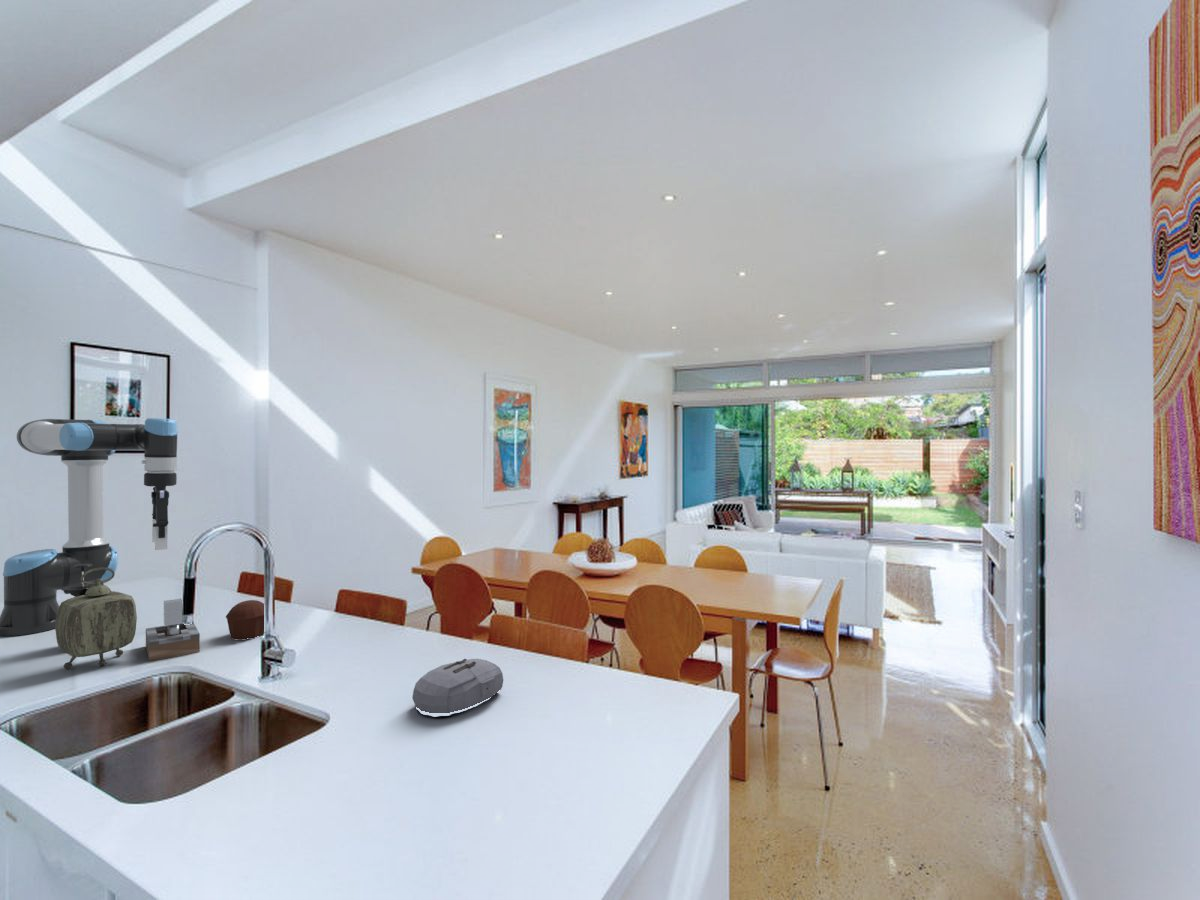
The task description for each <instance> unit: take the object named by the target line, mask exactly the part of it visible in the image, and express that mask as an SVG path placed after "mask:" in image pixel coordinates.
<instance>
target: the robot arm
mask: <svg viewBox="0 0 1200 900" xmlns="http://www.w3.org/2000/svg"><path fill="white" fill-rule="evenodd" d="M178 433H179V431H178V422H177V420H175V419H174V418H156V417H151V418H150V417H149V418H146V419H145V420H144V424H143V423H135V424H133V423H131V424H130V423H126V424H125V423H108V422H106V421H103V420H94V419H69V418H68V419H65V418H63V419H62V418H61V419H59V418H57V419H56V418H44V419H43V418H42V419H36V420H31V421H29V422H27V423H25V424H23V425H21V426H20V428H18V431H17V432H16V441H17V443H18V445H19V446H20V447H21V448H22V449H24V450H25V451H27V452H29V453H32V454H35V455H40V456H41V455H42V456H53V457H54V456H55V457H57V456H61V457H60V462H61V463H63V464H64V465H65V466H66V467H67V508H68V509H67V512H68V513H67V514H68V515H67V517H68V518H67V519H68V520H67V521H68V540H67V542H65V543H64V544H63V545H62V547H61V550H62V552H58V551H57V550H56V549H53V548H47V549H46V548H45V549H38V550H32V551H27V552H23V553H19V554H18V553H17V554H15V555H13V556H11V557H9V558H7V559H6V560H5V562H4V563H3V564H4V565H3V573H2V576H3V609H2V611H1V613H0V637H12V636H13V637H14V636H24V635H25V636H26V635H30V634H32V635H33V634H37V633H43V632H45V631H46V632H47V631H50V630H53V629H55V627H56V616H57V611H58V608H59V606H60V604H59V603H58V601H57V591H60V590H61V588H63V587H66V586H70V585H75V584H81V583H82V581H81V577H82V572H81V568H74V567H73V566H75V565H79V564H92V566H88V567H85V571H84V573H85V572H86V571H88V570H90V569H94V568H100V567H106V568H110V569H112V570H113V571H114V573H115V574H116V572H117V569H118V568H117V567H118V565H119V564H118V563H119V555H118V554H117V553H118V551H117V549H116V548H115V547H114V546H111V545H110V541H108V540H107V539H106V538H104V497H103V496H104V495H103V491H104V489H103V487H104V486H103V483H104V482H103V466H104V465H105V464H106V463H107V462H108V461H109V457H110V456H111V455H112V456H113V455H114V454H115V452H116V451H144V454H143V455H144V456H143V457H144V460H141V464H144V468H143V469H144V471H145V473H144V474H143V485H144V486H145V487H153V488H152V490H153V491H151V493H150V496H151V504H152V513H151V516H152V524H151V525H152V529H151V530H152V531H151V532H152V533H151V534H152V535H151V536H152V537H151V538H152V539H151V541H152V543H154V550H155V551H159V550H160V551H161V550H168V529H169V528H168V525H169V517H168V516H169V515H168V514H169V513H168V509H169V508H168V507H169V503H170V502H169V500H170V499H169V498H170V492H169V491H168V490H167V487H172V486H173V487H174V486H176V485H177V482H178V481H177V478H178V477H177V473H176V471H177V470H178V456H177V455H178ZM110 577H112V572H110V571H108V570H97V571H93V572H90V573H88V574H86V575H85V576H84V581H86V582H95V580H96V579H98V578H99V579H101V581H104V580H106V579H109V578H110ZM61 591H62V590H61Z"/></svg>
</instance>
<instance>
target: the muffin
mask: <svg viewBox="0 0 1200 900" xmlns="http://www.w3.org/2000/svg"><path fill="white" fill-rule="evenodd" d="M264 604H265V603H263V602H262V601H259V600H258V599H257V600H256V599H249V600H243V601H240V602H238V603H237V604H235V605H234V606H233V607H231V609H230V610H229V611H228V613H227V614H226V615H225V618H226V622H227V625H228V631H229V637H230V639H232V638H233V640H234V639H246V640H248V639H247V638H253V639H256V638H255V637H257V636H259V637H261V636H264V634H265V633H264ZM257 638H258V637H257Z"/></svg>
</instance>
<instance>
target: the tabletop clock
mask: <svg viewBox="0 0 1200 900" xmlns="http://www.w3.org/2000/svg"><path fill="white" fill-rule="evenodd" d="M97 570H108V571H110V572H112V577H110V578H109V579H106V580H104V581H101V579H99V578H98V579H96V580H95V582H86V581H84V580H83V577H84V576H85V575H86V574H88V573H90V572H93V571H97ZM115 575H116V572H115V573H114V571H113V570H112V569H110V568H106V567H100V568H94V569H90V570H88V571H86V572H85V573H84V574H83V575H82V577H81V581H82V582H83V583H84V584H88V585H95V586H92V587H90V588H89V589H88V590H87V591H86V593H85V595H82V596H77V597H74V596H73V597H70V598H68V599H66V600H63V601H61V602H60V604H59V608H58V611H57V616H56V627H55V628H54V629H55V636H56V637H55V638H56V642H57V647H58V648H59V650H60V651H61V652H63V653H64V654H67V655H69V656H71V658H70V660H69V661H67V662H65V663H64V664H63V668H64V669H67V670H68V669H70V668H71V667H73V662H74V661H75V659H76V658H84V657H90V656H96V655H98V656H99V659H100V660H99V661H98V662H97V665H98V666H99V667H104V666H106V664H107V660H106V659H104V654H106V653H109V652H111V651H115V656H117V657H120V656H122V655H123V654H124V650H123V649H121V648H124V647H127V646H128V645H130V644H132V643H133V640H134V638H135V635H136V630H137V621H138V617H137V607H136V603H135V602H136V601H135V599H134V597H133V596H132V595H130V594H126V593H123V592H119V591H115V590H114V591H113V590H111V588H110V587H109V586H107V585H105V583H108V582H109V581H111V580H112V579H113V578H114V577H115ZM102 583H103V584H104V585H101V584H102Z"/></svg>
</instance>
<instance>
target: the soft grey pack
mask: <svg viewBox="0 0 1200 900" xmlns="http://www.w3.org/2000/svg"><path fill="white" fill-rule="evenodd" d="M503 685H504V675H503V671H502V670H501V668H500V666H498V665H497V664H496V663H494V662H491V661H488V660H486V659H482V658H469V659H466V658H464V659H462V660H458V661H455V662H450V663H447V664H446V663H445V664H442V665H440V666H438V667H435V668H434V669H432V670H429V671H428V672H426V673H425V674H424V675H422V676H421V677H420V678H419V679H418V680H417V681H416V682H415V685H414V688H413V691H412V701H413V703H414V706H416V707H417V708H419V709H420V710H421V711H425V712H429V713H450V712H454V711H458V710H462V709H465V708H468V707H470V706H473V705H475V704H477V703H480V702H482V701H484V700H486V699H488V698H490V697H492V696H493V695H494V694H496V693H497V692H498V691H499V690H500V691H501V690H502V688H503ZM497 694H498V693H497ZM497 694H496V695H497ZM493 697H494V696H493ZM493 697H492V698H493ZM416 707H415V708H416Z"/></svg>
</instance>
